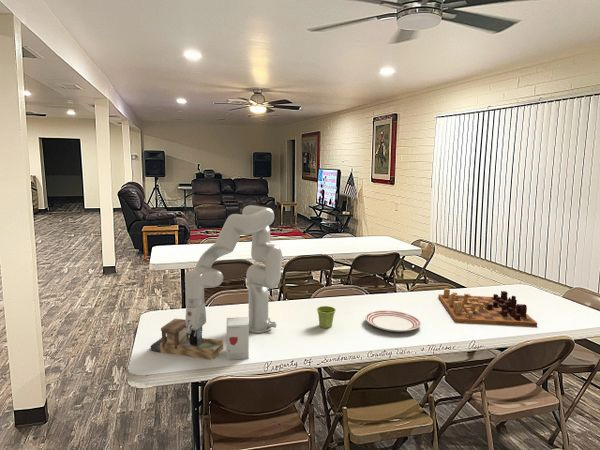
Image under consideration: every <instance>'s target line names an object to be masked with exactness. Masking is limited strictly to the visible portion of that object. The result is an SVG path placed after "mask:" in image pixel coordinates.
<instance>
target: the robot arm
mask: <svg viewBox="0 0 600 450" xmlns="http://www.w3.org/2000/svg"><path fill="white" fill-rule="evenodd" d="M274 221H275V213H274V210H273V209H272V208H271V207H266V206H259V205H251V204H250V205H249V204H248V205H247V206H244V207H243V209H242V214H240V213H232V214H230V215H228V217H227V218H226V220H225V222H224V224H223V226H222V229H221V230H220V232H219V234H218V236H217V238H216V241H215V242H214V243H213V244H212V245H211V246H210V247H209V248H207V250H205V251H204V252H203V254H202V255H200V257H199V259H198V261H197V263H196V265H195V267H194V270H191V271H188V272H186V273H185V276H184V282H185V283H184V284H185V306H186V308H185V320H186V329H187V332H186V333H187V334H189V336H190V344H191V345H197V336H196V330H198V329H199V328H200V327H201V334H202V335H203V332H202V331H203V326H205V324H206V323H207V311H206V305H205V304H206V303H205V289H206V288H217V287H218V286H220V285H221V284H222V283H223V281H224V275H223V273H222V272H221V271H220V270H218V269H215V268H212V266H213V265H214V263H215V262H216V261H217V260H218V259H220V258H221V257H224V256H225V255H229V254H231V253H233V251H234V250H235V248H236V246H237V243H238V241H239V239H240V237H241V236H243V235H244V236H250V235H251V248H250V255H251V258H252V260H253V261H255V262H258V263H260V264H258V263H254V264H251V265H250V266H249V267H248V268H247V270H246V275H245V276H246V282H247V288H248V324H249V333H252V334H262V333H263V334H264V333H266V332H269V331H270V330H271V329H272V328H277V323H276V321H271V318H269V298H270V297H269V289H274V288H277V287H278V285H279V284H280V281H281V276H282V268H283V267H282V265H283V253H282V250H281V248H280V247H279V246H278V245H277V244H272V243H271V229H270V226H271V225H272V224H273V223H274ZM261 263H262V264H261ZM263 264H264V265H263ZM192 330H194V332H193V331H192Z"/></svg>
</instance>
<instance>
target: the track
mask: <svg viewBox="0 0 600 450" xmlns="http://www.w3.org/2000/svg"><path fill="white" fill-rule="evenodd" d="M183 327H185V328H186V319H183V318H174V319H171V320H170V321H169V322H168V323H166V324H164V325H162V327H160V331H161V338H159V339H158V340H156V341H155V342H153V343H152V344H151V345H150V352H153V353H161V354H169V355H174V356H175V355H176V356H183V357H190V358H191V357H192V358H196V357H197V359H204V360H205V359H206V360H212V361H213V360H215V358H216V357H218V355H219V354H220V353H221V352H222V351H223V350H224V340H220V339H212V338H206V337H205V338H204V337H202V342H203V343H202V344H201V345H200V346H199V347H193V346H185V345H179V337H178V331H179V330H180V329H182V328H183ZM186 332H187V329H186ZM167 334H174V341H175V344H170V343H167ZM187 340H190V336H189V334H187Z"/></svg>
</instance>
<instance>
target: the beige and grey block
mask: <svg viewBox="0 0 600 450" xmlns="http://www.w3.org/2000/svg"><path fill="white" fill-rule="evenodd" d="M192 331H193V332H194V330H192ZM201 332H202V331H201V327H200V328H199V329H198V330H196V336H197V345H191V344H190V340H187V333H186V328H185V327H183V328H182V329H180V330H179V331H178V337H179V345H185V346H193V347H199V346H200V345H201V344H202V343H203V342H202V338H203V333H202V334H201ZM166 337H167V343H170V344H175V341H174V334H166Z"/></svg>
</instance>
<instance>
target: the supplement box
mask: <svg viewBox="0 0 600 450" xmlns="http://www.w3.org/2000/svg"><path fill="white" fill-rule="evenodd" d="M248 323H249V316H243V317H242V316H241V317H238V316H237V317H235V316H234V317H227V318H226V359H227V360H226V361H228V360H229V361H232V360H247V359H249V358H250V357H249V347H250V346H249V345H250V343H249V342H250V341H249V340H250V339H249V337H250V335H249V334H250V332H249V324H248Z"/></svg>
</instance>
